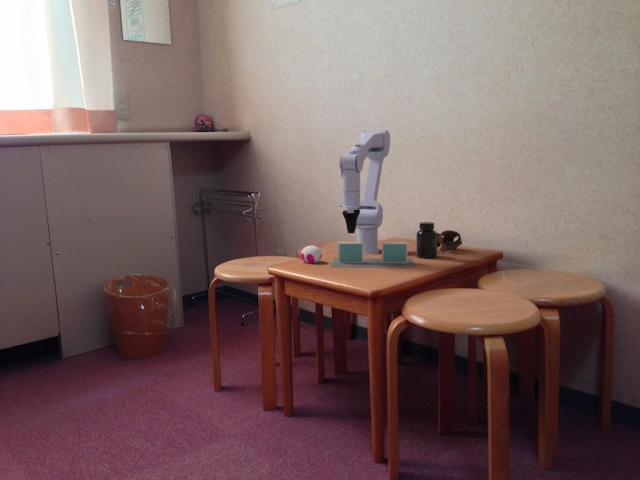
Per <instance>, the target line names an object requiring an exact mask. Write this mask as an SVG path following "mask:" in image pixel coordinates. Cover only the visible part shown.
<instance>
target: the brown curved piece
mask: <svg viewBox="0 0 640 480" xmlns="http://www.w3.org/2000/svg"><path fill="white" fill-rule="evenodd" d="M457 237H458V238H457ZM456 238H457V239H456ZM455 239H456V240H455ZM461 245H463V241H462V238H461V234H460V233H459V232H458V231H456V230H451V229H447V230H444V231H442V232H441V233H438V232H437V248H440V249H439V250H440V251H441V252H446V251H449V250H453V249H455V248H457V249H458V247H460V246H461Z"/></svg>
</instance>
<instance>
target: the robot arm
mask: <svg viewBox="0 0 640 480" xmlns="http://www.w3.org/2000/svg"><path fill="white" fill-rule="evenodd" d="M390 147H391V134H390V132H389V131H388V130H387V129H385V130H363V131H361V133H360V136H359V143H357V142H356V143H355V144H354V145H353V147H352V148H351V149H350V150H349V151H348V152H347V153H345V154H343V155H341V156H340V158H339V169H340V176H341V178H342V204H341V203H340V204H338V207H339V208H343V209H345V210H343V211H342V213H341V214H342V215H343V217H344V221H345V225H346V231H347V234H355V232H356V231H357V232H356V237H357V238H356V239H357V240H356V242H363V254H379V250H380V247H379V246H378V237H379V232H378V231H379V229H378V228H380V227H381V225H382V224H383V221H384V219H383V218H384V214H383V212H384V209H383V206H382V204H381V203H379V202H378V201H377V200H378V195H379V187H380V182H381V177H382V170H383V163H384V159H385V158H386V157H388V156H389V152H390ZM367 158H368V159H369V162H368V168H367V173H366V178H365V179H366V180H365V186H364V192H363V195H362V196H363V197H362V199H361V172H362V170H363V167H364V163H365V161H366V159H367Z"/></svg>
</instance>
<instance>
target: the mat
mask: <svg viewBox="0 0 640 480" xmlns="http://www.w3.org/2000/svg"><path fill="white" fill-rule="evenodd" d="M330 268H340V269H341V268H345V269H346V268H351V269H352V268H353V269H354V268H358V269H359V268H360V269H363V268H365V269H367V268H368V269H370V268H371V269H374V268H375V269H379V268H380V269H416V266H415V264H414V260H413V258H408V257H407V263H382V257H380V258H379V257H378V258H376V257H363V263H338V257H333V260H332V262H331V264H330Z"/></svg>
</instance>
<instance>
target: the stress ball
mask: <svg viewBox="0 0 640 480" xmlns="http://www.w3.org/2000/svg"><path fill="white" fill-rule="evenodd" d="M300 251H301V252H300V258H301V259H302V260H303V261H304V263H306V264H307V263H308V264H315V263H316V264H317V263H318V262H319V261H320V260H321V259H322V257H323V253H322V250H321V249H320V248H319V247H318V246H315V245H307V246H305V247H304V248H303V249H301V250H300Z"/></svg>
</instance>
